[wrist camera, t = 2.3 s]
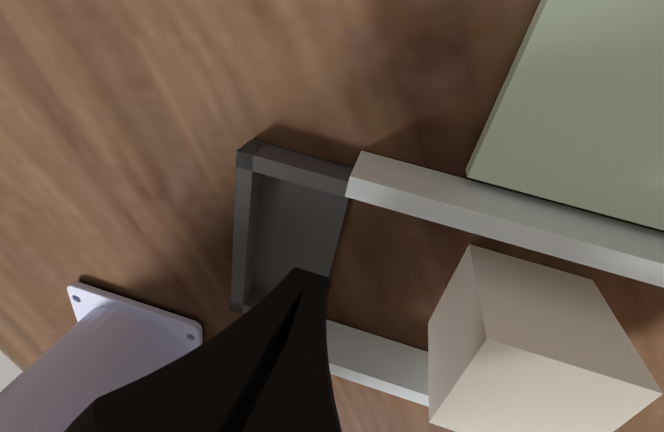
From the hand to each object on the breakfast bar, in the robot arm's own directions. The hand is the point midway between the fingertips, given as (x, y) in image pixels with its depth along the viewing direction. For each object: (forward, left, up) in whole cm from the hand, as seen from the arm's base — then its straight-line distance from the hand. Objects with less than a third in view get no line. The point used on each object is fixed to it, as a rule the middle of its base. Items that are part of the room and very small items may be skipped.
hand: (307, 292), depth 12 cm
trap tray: (0, +2, -3) cm, 3 cm away
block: (0, -7, -3) cm, 8 cm away
